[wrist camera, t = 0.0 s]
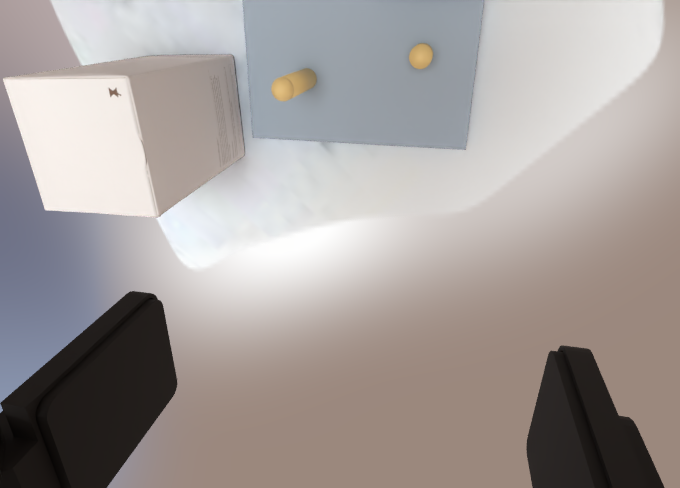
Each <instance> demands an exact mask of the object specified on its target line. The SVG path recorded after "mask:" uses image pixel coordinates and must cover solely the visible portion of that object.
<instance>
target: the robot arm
mask: <svg viewBox="0 0 680 488" xmlns="http://www.w3.org/2000/svg"><path fill="white" fill-rule="evenodd" d="M176 388H177V378H176V372H175V367H174V362H173V356H172V351H171V346H170V340H169V335H168V330H167V324H166V319H165V314H164V308H163V304H162V302H161V301H159V300H158V299H157V297H156V296H155V295H154V294H151V293H144V292H135V291H132V292H129V293H128V294H126V295H125V296H124V297H123V298H122V299H120V300H119V301H118V302H117V303H116V304H115V305H113V306H112V307H111V308H110V309H109V310H108V311H106V312H105V313H104V314H103V315H102V316H101V317H100V318H98V319H97V320H96V321H95V322H94V323H93V324H91V325H90V326H89V327H88V328H87V329H86V330H84V331H83V332H82V333H81V334H80V335H79V336H77V337H76V338H75V339H74V340H73V341H72V342H70V343H69V344H68V345H67V346H66V347H65V348H64V349H62V350H61V351H60V352H59V353H58V354H57V355H55V356H54V357H53V358H52V359H51V360H50V361H48V362H47V363H46V364H45V365H44V366H43V367H41V368H40V369H39V370H38V371H37V372H36V373H34V374H33V375H32V376H31V377H30V378H29V379H28V380H26V381H25V382H24V383H23V384H22V385H21V386H19V387H18V388H17V389H16V390H15V391H14V392H12V393H11V394H10V395H9V396H8V397H7V398H5V400H3V401H2V402H1V403H0V404H1V406H2V409H3V411H2V412H1V413H0V488H107V486H108V485H109V483H110V482H111V481H112V479H113V478H114V477H115V475H116V474H117V473H118V471H119V470H120V468H121V467H122V466H123V464H124V463H125V462H126V460H127V459H128V457H129V456H130V455H131V453H132V452H133V451H134V449H135V448H136V447H137V445H138V444H139V442H140V441H141V439H142V438H143V437H144V435H145V434H146V433H147V431H148V430H149V429H150V427H151V426H152V424H153V423H154V422H155V420H156V419H157V418H158V416H159V415H160V413H161V412H162V411H163V409H164V408H165V407H166V405H167V404H168V403H169V401H170V400H171V398H172V397H173V395H174V394H175V391H176ZM527 458H528V463H529V469H530V474H531V481H532V486H533V488H664V486H663V483H662V481H661V479H660V477H659V474H658V473H657V470H656V468H655V466H654V463H653V461H652V459H651V457H650V455H649V453H648V450H647V448H646V446H645V444H644V441H643V439H642V437H641V435H640V433H639V431H638V428H637V426H636V425H635V423H634V421H633V420H632V419H630V418H629V417H623V416H618V413H617V411H616V408H615V407H614V404H613V401H612V399H611V397H610V394H609V392H608V390H607V387H606V385H605V383H604V380H603V378H602V376H601V373H600V371H599V368H598V366H597V363H596V361H595V359H594V356H593V354H592V352H591V350H589V349H585V348H578V347H570V346H560V348H559V349H558V352H556V351H550V352H549V355H548V358H547V362H546V366H545V371H544V374H543V378H542V382H541V386H540V390H539V394H538V398H537V402H536V406H535V410H534V414H533V418H532V422H531V426H530V430H529V434H528V439H527Z"/></svg>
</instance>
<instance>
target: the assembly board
mask: <svg viewBox="0 0 680 488" xmlns="http://www.w3.org/2000/svg"><path fill="white" fill-rule="evenodd" d="M483 6H484V0H243V12H244V25H245V39H246V52H247V65H248V79H249V92H250V106H251V119H252V133H253V138H270V139H288V140H305V141H323V142H340V143H357V144H375V145H392V146H409V147H427V148H444V149H461V150H466V143H467V135H468V127H469V119H470V111H471V103H472V95H473V87H474V79H475V71H476V63H477V55H478V47H479V38H480V30H481V22H482V14H483Z"/></svg>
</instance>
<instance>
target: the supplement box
mask: <svg viewBox="0 0 680 488" xmlns="http://www.w3.org/2000/svg"><path fill="white" fill-rule="evenodd" d="M3 81H4V84H5V87H6V90H7V93H8V96H9V99H10V102H11V105H12V108H13V111H14V114H15V117H16V120H17V123H18V126H19V129H20V132H21V135H22V138H23V142H24V145H25V148H26V151H27V154H28V157H29V160H30V163H31V166H32V170H33V173H34V176H35V179H36V182H37V185H38V188H39V192H40V194H41V198H42V201H43V204H44V208H45V210H54V211H69V212H88V213H103V214H118V215H130V216H143V217H155V218H158V217H160V216H161V215H162V214H163V213H164V212H166V211H167V210H168V209H170V208H171V207H173V206H174V205H175V204H177V203H178V202H179V201H181V200H182V199H184V198H185V197H187V196H188V195H189V194H191V193H192V192H194V191H195V190H196V189H198V188H199V187H201V186H202V185H203V184H205V183H206V182H208V181H209V180H210V179H212V178H213V177H215V176H216V175H218V174H219V173H220V172H222V171H223V170H225V169H226V168H227V167H229V166H230V165H232V164H233V163H234V162H236V161H237V160H239V159H240V158H242V157H243V156H244V155H245V151H244V143H243V134H242V126H241V117H240V109H239V100H238V92H237V83H236V75H235V66H234V59H233V56H232V55H157V56H145V57H138V58H131V59H124V60H118V61H111V62H104V63H98V64H91V65H85V66H79V67H72V68H66V69H59V70H53V71H46V72H40V73H33V74H26V75H19V76H13V77H7V78H3Z"/></svg>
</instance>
